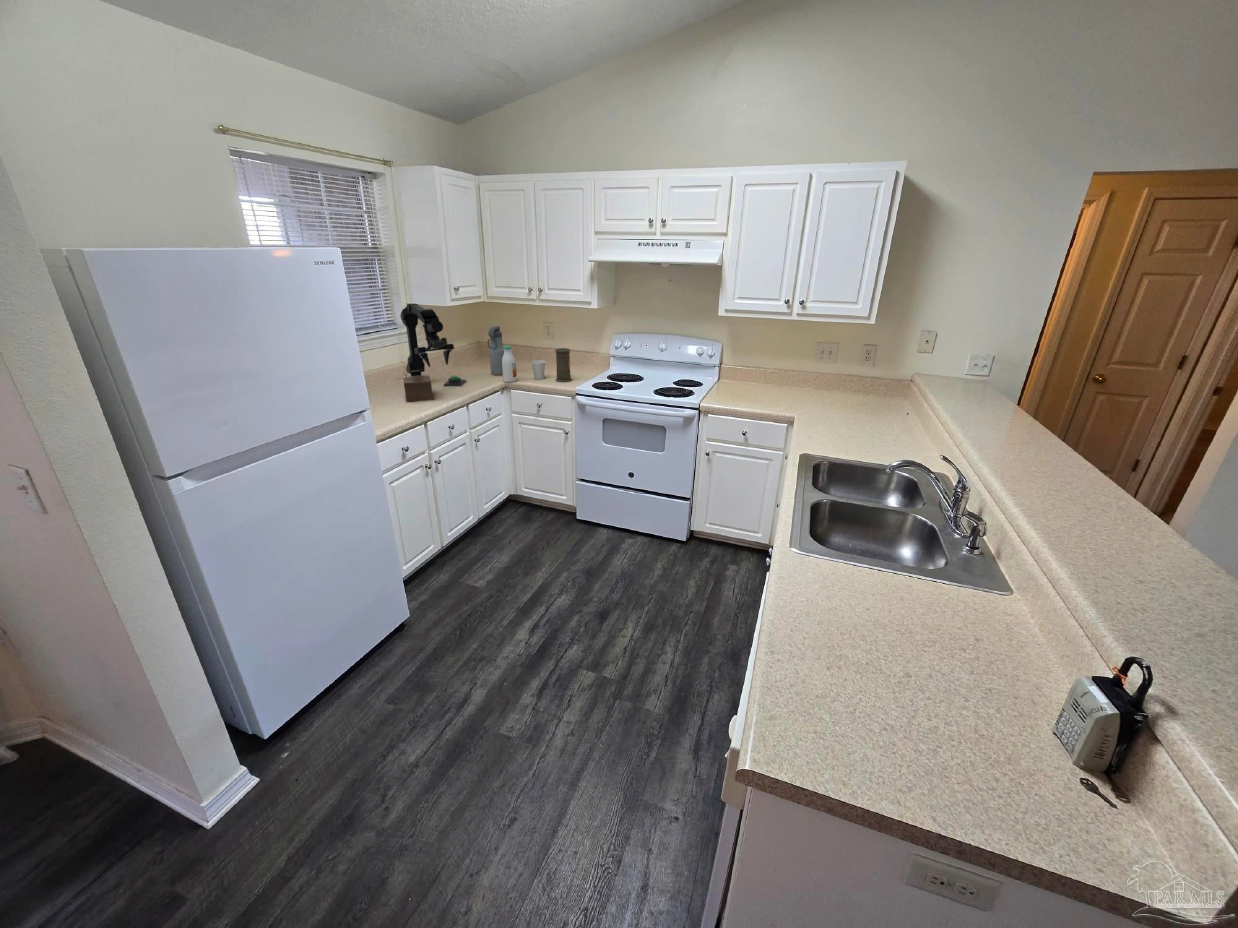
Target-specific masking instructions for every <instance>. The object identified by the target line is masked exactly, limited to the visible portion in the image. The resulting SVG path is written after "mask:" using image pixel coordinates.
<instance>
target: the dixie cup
mask: <svg viewBox="0 0 1238 928" xmlns="http://www.w3.org/2000/svg"><path fill="white" fill-rule="evenodd" d="M546 362H547V361H546V360H542V359H534V360H531V362H530V363H531V366H532V373H533V377H534V379H535V380H544V379H545V371H546Z"/></svg>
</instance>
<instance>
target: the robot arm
mask: <svg viewBox="0 0 1238 928" xmlns="http://www.w3.org/2000/svg"><path fill="white" fill-rule="evenodd" d="M400 320H401V322H402V323H401V324H403V326H404V327H405V328H406V335H407V336H406V337H407V343H408V349H409V350H408V351H409V355H408V357H407V363H406V367H405V370H406V373H407V374H409V375H410V376H422V375H423V374H422V373H423V372H424V373H425V369H426V368H425V367H426V366H425V365H427V367H428V368H431V363H430V359H429V355H428V352H434V351H442V353H443V357H444V362H445V365H446V366H448V365H449V359H450V354H451V352H452V351H453V350H454V349H455V345H454V343H448V340H447V337H441V338H440V336H439V334H438V333H440V332H442V331H443V330H444V324H443V323H442V322H441V320H440V317H439V316H438V315H437V314H436V311H435V310H434V309H432V308H424V307H422V306H420V305H419V304H418V303H407V305H406V306H405V307H404V308H403V309H402V310H401V312H400ZM419 320H420V321H421V323H422V328H423V331H424V335H425V339H424V340H425V341H426V343H427V346H419V343H418V335H417V329H416V328H417V326H418V324H419Z"/></svg>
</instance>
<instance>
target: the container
mask: <svg viewBox="0 0 1238 928" xmlns="http://www.w3.org/2000/svg"><path fill="white" fill-rule="evenodd" d="M554 352H555V359H556V361H555V362H556V363H555V364H556V375H555V377H556V378H555V380H556V382H559V383H566V382H567V383H568V382H571V381H572V374H571V362H570V361H571V360H570V357H571V356H570V354H571V353H570V352H571V349H570V348H567V347H561V348H555V350H554Z"/></svg>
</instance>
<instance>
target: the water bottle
mask: <svg viewBox="0 0 1238 928" xmlns="http://www.w3.org/2000/svg"><path fill="white" fill-rule="evenodd" d="M487 336H488V337H489V339H487V348H489V350H488V353H489V365H490V374H491V375H493V376H503V370H502V358H503V355H504V348H503V347H504V345H503V332H502V331H501V326H499V325H497V326H495V325H494V326H492V327H489V329H488V332H487ZM490 344H491V345H490Z"/></svg>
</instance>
